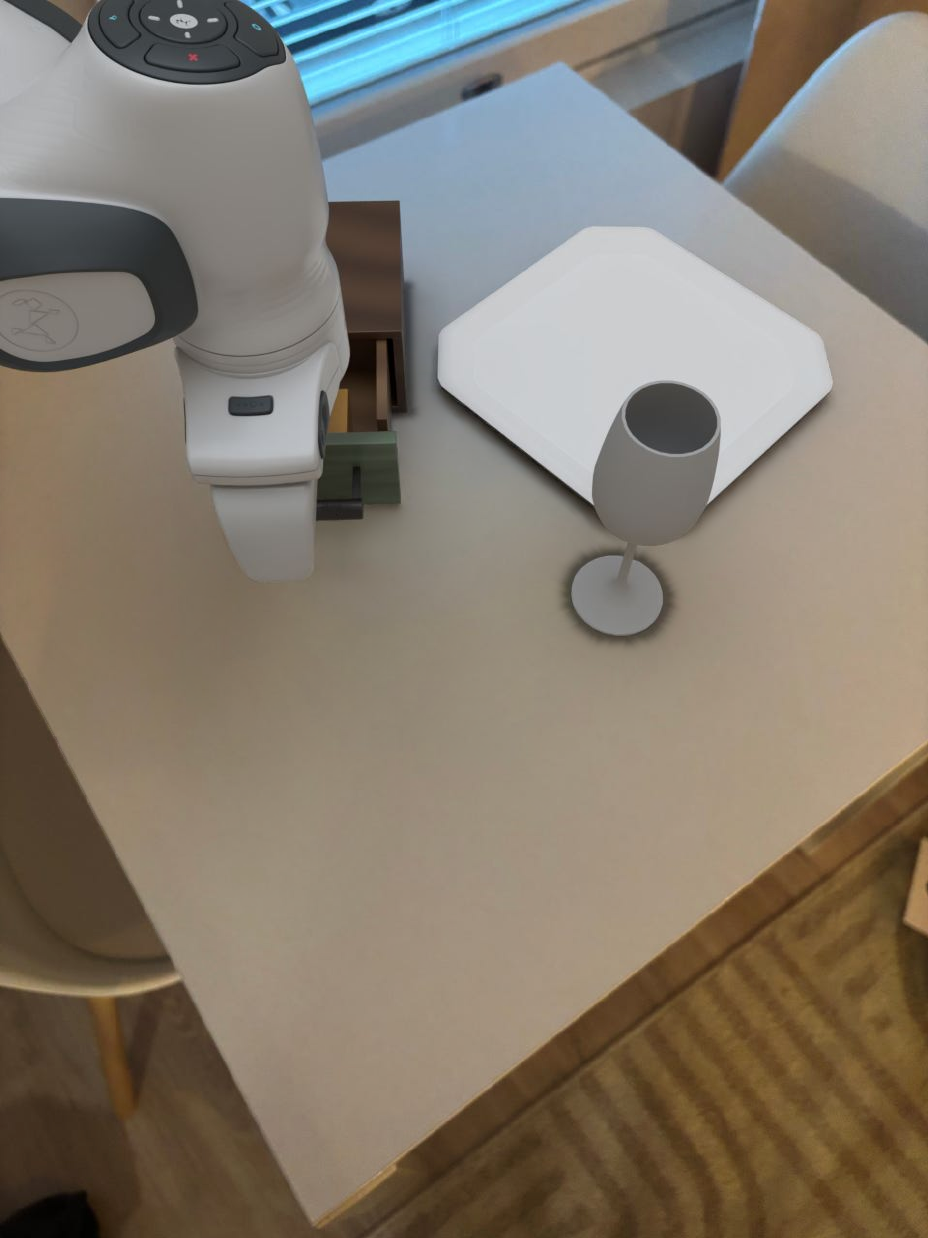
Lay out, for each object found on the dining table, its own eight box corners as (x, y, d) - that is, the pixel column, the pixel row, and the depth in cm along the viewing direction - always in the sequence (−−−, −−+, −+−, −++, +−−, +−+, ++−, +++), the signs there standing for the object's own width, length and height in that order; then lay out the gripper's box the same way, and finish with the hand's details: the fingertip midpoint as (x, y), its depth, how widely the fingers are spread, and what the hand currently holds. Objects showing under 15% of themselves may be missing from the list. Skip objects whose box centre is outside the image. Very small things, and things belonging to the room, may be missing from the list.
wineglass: (638, 543, 77) (697, 356, 58) (681, 620, 73) (759, 447, 55) (553, 571, 75) (586, 388, 57) (593, 651, 72) (642, 484, 53)
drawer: (402, 551, 75) (397, 493, 68) (244, 556, 74) (224, 498, 68) (399, 371, 84) (394, 303, 77) (259, 374, 84) (242, 306, 77)
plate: (613, 221, 95) (616, 202, 93) (854, 376, 85) (863, 359, 84) (403, 371, 85) (402, 353, 83) (650, 566, 75) (655, 551, 74)
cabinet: (407, 412, 83) (402, 330, 74) (251, 416, 82) (228, 334, 74) (404, 286, 90) (399, 199, 82) (261, 289, 90) (242, 202, 81)
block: (297, 469, 77) (289, 433, 73) (299, 426, 79) (291, 389, 75) (352, 468, 77) (347, 432, 73) (353, 425, 80) (347, 388, 76)
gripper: (218, 204, 54) (263, 374, 66) (182, 493, 44) (242, 631, 56) (328, 201, 54) (353, 371, 66) (316, 488, 44) (348, 627, 57)
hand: (302, 493), depth 61 cm, fingers closed
